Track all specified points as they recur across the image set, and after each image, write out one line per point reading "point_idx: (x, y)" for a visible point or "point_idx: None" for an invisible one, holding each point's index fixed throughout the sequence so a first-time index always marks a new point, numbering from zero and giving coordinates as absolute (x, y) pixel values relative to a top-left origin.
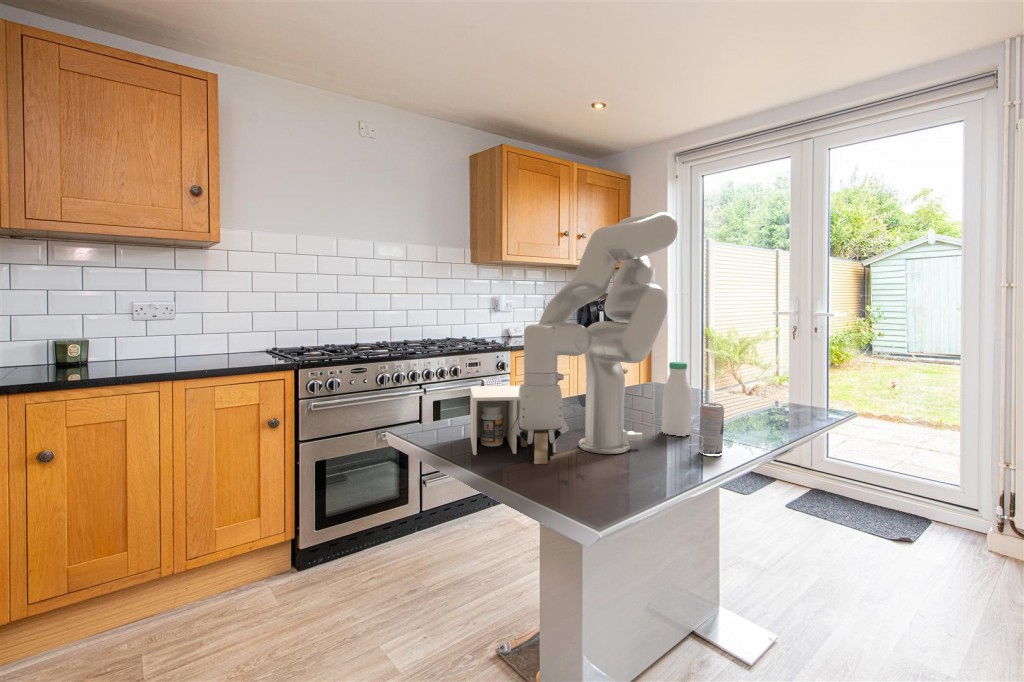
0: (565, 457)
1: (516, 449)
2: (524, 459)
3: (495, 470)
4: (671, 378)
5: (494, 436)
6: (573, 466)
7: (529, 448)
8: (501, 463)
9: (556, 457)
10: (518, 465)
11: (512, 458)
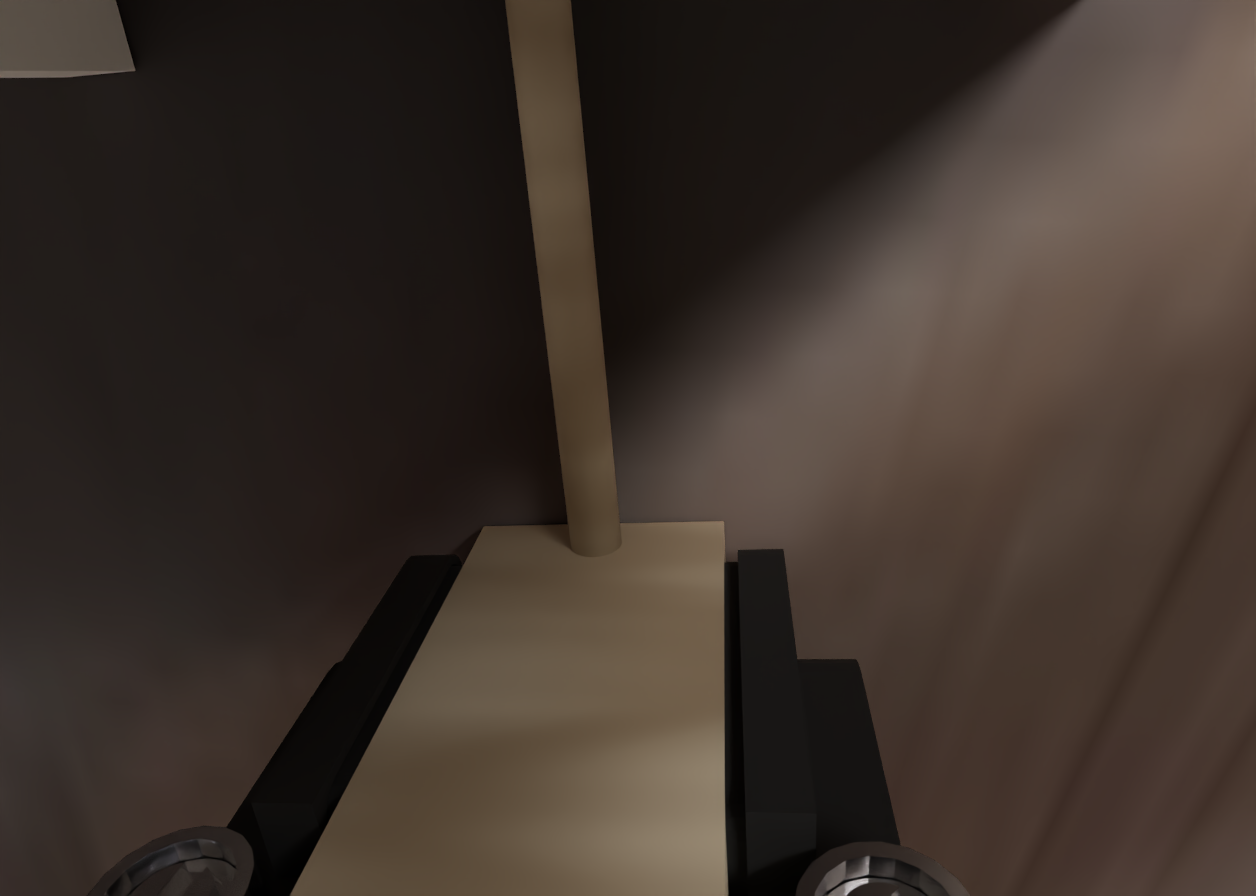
0: (1196, 388)
1: (68, 68)
2: (343, 460)
3: (10, 855)
4: None
5: None
6: (1132, 839)
7: None
8: (6, 622)
9: (994, 377)
10: (275, 723)
11: (120, 391)
